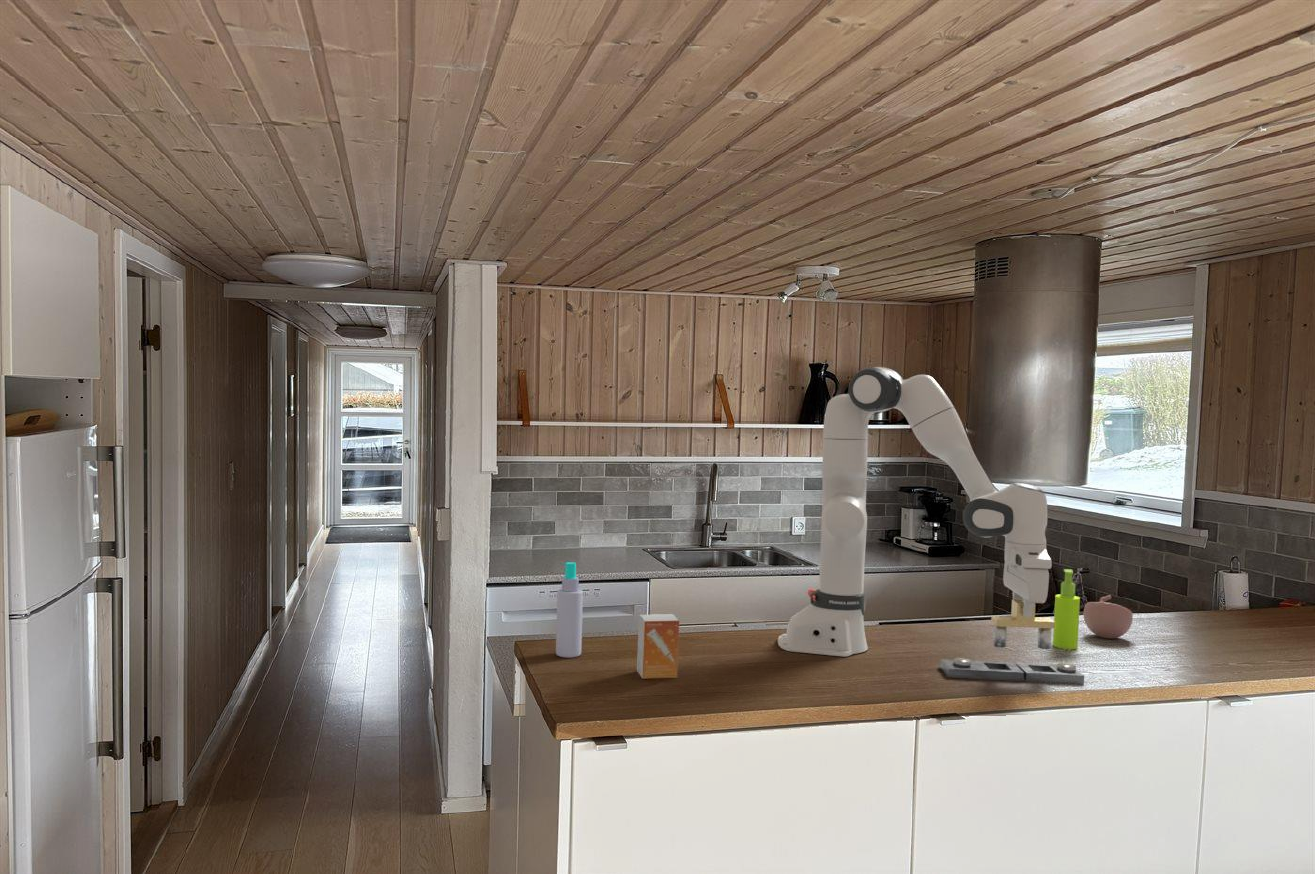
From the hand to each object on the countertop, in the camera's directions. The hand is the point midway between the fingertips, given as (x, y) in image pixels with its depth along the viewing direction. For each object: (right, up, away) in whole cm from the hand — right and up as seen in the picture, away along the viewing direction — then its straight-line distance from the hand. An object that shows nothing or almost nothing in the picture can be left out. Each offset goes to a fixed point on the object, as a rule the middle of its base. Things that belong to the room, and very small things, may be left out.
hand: (1022, 613), depth 213 cm
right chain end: (+6, -15, 0) cm, 16 cm away
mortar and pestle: (+38, -14, +39) cm, 57 cm away
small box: (-84, -13, -6) cm, 85 cm away
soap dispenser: (+23, -14, +29) cm, 39 cm away
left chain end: (-9, -14, +1) cm, 17 cm away
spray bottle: (-105, -11, +7) cm, 106 cm away
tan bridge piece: (0, -8, 0) cm, 8 cm away
